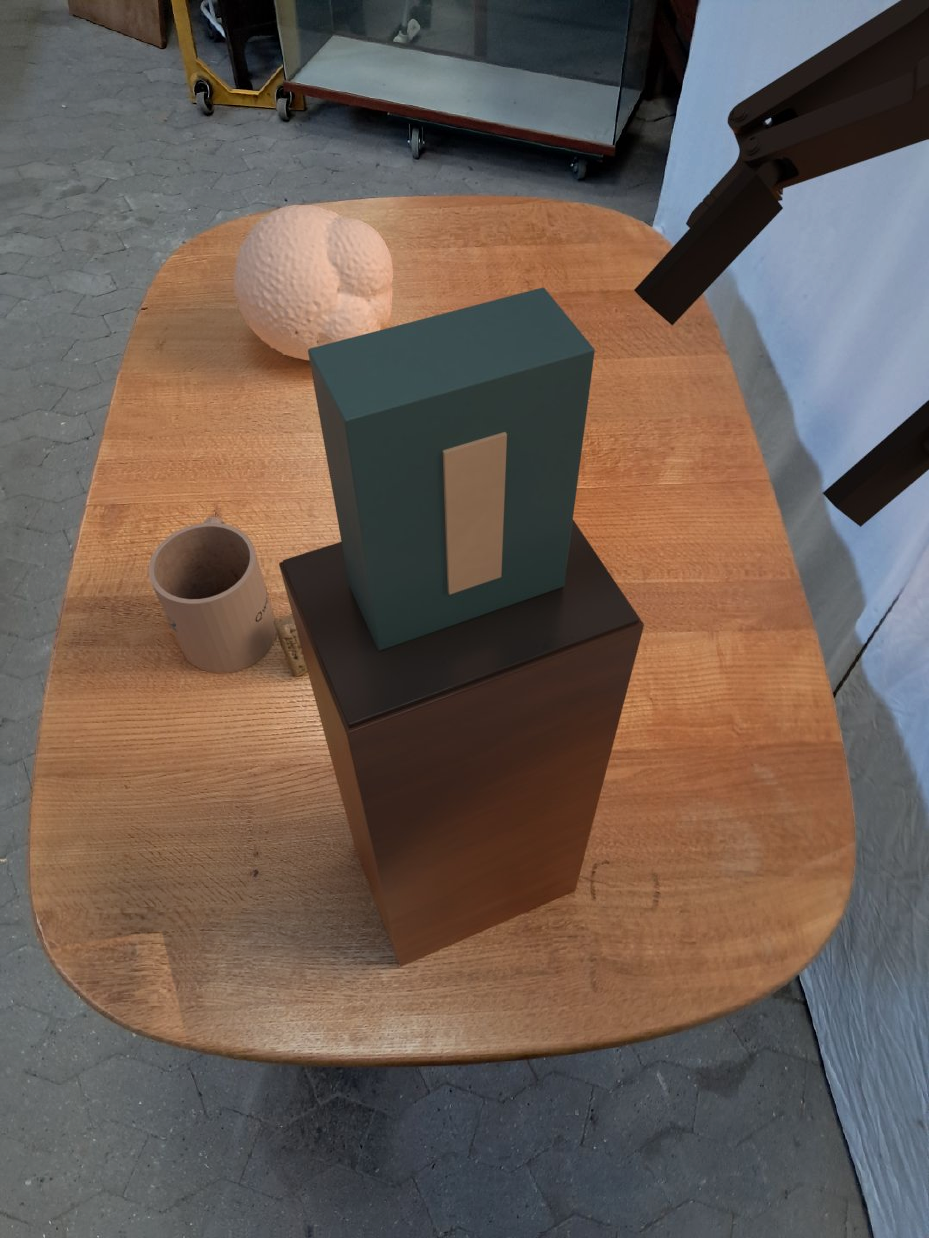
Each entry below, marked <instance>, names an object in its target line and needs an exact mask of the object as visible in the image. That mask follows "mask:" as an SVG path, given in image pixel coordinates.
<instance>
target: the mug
mask: <svg viewBox="0 0 929 1238" xmlns="http://www.w3.org/2000/svg"><path fill="white" fill-rule="evenodd" d="M148 577H149V581H150V583H151V586H152V588H153V590H154V593H155V595H156V596H157V599H158V601H159V603H160V605H161V607H162V610H163V613H164V614H165V616H166V618H167V621H168V623H169V626H170V627H171V629H172V632H173V634H174V636H175V638H176V640H177V642H178V645H179V647H180V649H181V652H182V653H183V655H184V656H185V658H186V659H187V661H188V662H189V663H190V664H191V665H192V666H194V667H196V668H197V669H199V670H202V671H205V672H207V673H213V674H229V673H236V672H239V671H242V670H245V669H247V668H249V667H251V666H253V665H255V664H257V663H258V662H259V661H260V660H261V659H263V658H264V657H265V656H266V655H267V654H268V652H269V651H270V650H271V648H272V647H273V646H274V642H275V640H276V637H277V631H276V628H275V626H274V621H275V620H276V619H277V618H276V617H275V616H276V615H275V613H274V609H273V606H272V602H271V599H270V596H269V592H268V589H267V586H266V582H265V578H264V576H263V573H262V569H261V566H260V561H259V559H258V555H257V552H256V549H255V546H254V543H253V542H252V540H251V539H250V537H249V536H248V535H247V534H246V533H245V532H244V531H242V530H241V529H239V528H237V527H236V526H233V525H231V524H226V523H225V521H224V520H223V519H222V517H220V516H216V515H215V516H209V517H207V518H206V519H205V520H204V521H203V522H202V523H195V524H192V525H188V526H185V527H183V528H181V529H178V530H176V531H174V532H173V533H172V534H170V535H168V536H167V537H165V538H164V539H163V540H162V541H161V542H160V543H159V544H158V546H157V547H156V548H155V549H154V551H153V553H152V555H151V557H150V559H149V563H148Z"/></svg>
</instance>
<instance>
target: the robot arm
mask: <svg viewBox="0 0 929 1238" xmlns="http://www.w3.org/2000/svg"><path fill="white" fill-rule="evenodd" d="M769 119H770V121H769ZM766 121H769V122H768V123H767V122H766ZM727 125H728V127H729V128H730V130H731V131H732V132H733V135H734V138H735V140H736V143H737V145H738V149H739V150H738V152H739V153H738V156H737V159H736V161H735V162H734V164H733V165H732V166H731V167H730V168H729V170H728V171H727V172H726V173H725V174H724V175H723V177H721V178H720V179H719V181H718V182H717V183H716V184H715V186H714V187H712V188H711V190H710V191H709V192H708V193H707V194H706V196H705V197H704V198H703V199H702V201H701V202H699V204H698V205H697V206H696V207H695V208H694V209H692V211H691V213H690V215H689V217H688V218H687V221H686V222H685V225H686V226H687V227H688V230H687V231H686V232H685V233H684V234H683V236H681V237H680V239H678V241H677V242H676V243H675V244H674V245H673V246H672V247H671V248H670V249H669V251H667V253H666V254H665V255H664V256H663V257H662V258H661V259H660V261H659V262H658V263H657V264H656V265H655V266H654V267H653V268H652V270H651V271H650V272H649V273H648V274H647V275H646V276H645V277H644V278H643V279H642V280H641V281H640V283H639V284H638V285H637V286H636V287H635V288H634V289H633V291H634V292H635V294H637V295H638V297H639V298H641V300H643V301H644V303H646V304H647V305H648V306H649V307H650V308H651V309H652V310H654V311H655V312H656V313H657V314H658V315H659V316H661V318H663V319H664V320H665V321H666V322H667V323H669V324H670V325H671V326H674V325H675V324H676V323H677V321H679V320H680V318H681V317H682V316H683V315H684V314H685V313H686V312H687V311H688V310H689V309H690V308H691V307H692V306H693V304H694V303H695V302H696V301H697V300H699V298H700V297H701V296H702V295H703V294H704V293H705V292H706V291H707V290H708V289H709V288H710V287H711V285H713V284H714V282H715V281H716V280H717V279H718V278H719V277H720V276H721V275H722V274H723V273H724V272H725V271H726V269H727V268H729V266H730V265H731V264H732V263H733V262H735V260H736V259H737V258H738V257H739V256H740V254H742V252H744V250H746V248H747V247H748V246H749V245H750V244H751V243H753V241H754V240H755V239H756V238H757V237H758V236H759V235H760V233H762V231H763V230H764V229H765V228H766V227H767V226H768V225H769V224H770V223H771V222H772V221H773V220H774V219H775V218H776V217H777V215H779V213H780V212H781V211H782V210H783V209H784V207H783V206H782V204H781V203H780V202H781V201H783V195H784V189H786V188H789V187H792V186H795V185H798V184H801V183H805V182H807V181H811V180H813V179H816V178H818V177H819V178H820V177H822V176H825V175H827V174H830V173H833V172H836V171H840V170H842V169H845V168H848V167H851V166H854V165H857V164H859V163H862V162H863V163H864V162H865V161H866V162H867V161H868V160H871V159H874V158H877V157H880V156H884V155H886V154H890V153H892V152H895V151H898V150H901V149H903V148H907V147H909V146H913V145H916V144H918V143H922V142H924V141H928V140H929V0H899V1H897V2H895V3H894V4H892V5H891V6H889V7H888V8H886V9H884V10H883V11H881V12H880V13H878V14H876V15H875V16H873V17H872V18H870V19H869V20H867V21H865V22H864V23H862V24H861V25H859V26H858V27H857V28H855V29H853V30H851V31H850V32H848V33H847V34H845V35H844V36H841V37H840V38H839V39H837V40H835V41H834V42H832V43H831V44H830V45H828V46H827V47H825V48H823V49H822V50H820V51H819V52H817V53H816V54H814V55H812V56H811V57H809V58H807V59H806V60H804V61H803V62H801V63H800V64H798V65H797V66H795V67H794V68H792V69H790V70H789V71H787V72H786V73H784V74H783V75H781V76H779V77H777V78H776V79H775V80H773V81H771V82H770V83H768V84H767V85H765V86H764V87H762V88H760V89H759V90H757V91H756V92H754V93H753V94H751V95H750V96H747V98H745V99H743V100H742V101H740V102H739V103H737V104H736V105H735V106H733V108H732V109H731V110H730V112H729V113H728V116H727ZM928 471H929V399H928V400H926V402H924V403H923V404H922V405H921V406H920V407H918V409H917V410H915V411H914V412H913V413H912V414H911V415H910V416H908V417H907V418H906V419H905V420H904V421H903V422H901V423H900V424H899V425H898V426H897V427H896V428H894V429H893V431H892V432H890V433H889V434H888V435H887V436H886V437H885V438H883V439H882V440H881V441H880V442H879V443H878V444H877V445H875V446H874V447H873V448H872V449H871V450H870V451H868V452H867V453H866V454H865V455H864V456H862V458H861V459H859V460H858V461H857V462H856V463H855V464H853V465H852V466H851V467H850V468H849V469H848V470H847V471H846V472H845V473H843V474H842V475H841V476H840V477H838V479H837V480H836V481H834V482H833V483H832V484H831V485H830V486H828V487H827V489H825V490H824V491H823V492H822V495H823V496H824V497H825V498H826V499H827V500H828V501H829V502H830V504H832V505H833V506H834V508H836V509H837V510H838V511H839V512H841V513H842V514H844V515H845V516H846V517H847V518H848V519H850V520H851V521H852V522H853V523H855V524H856V525H857V526H859V527H860V528H861V527H863V526H864V525H865V524H866V523H867V522H869V521H870V520H871V519H872V518H873V517H874V516H876V515H877V514H878V513H879V512H880V511H882V510H883V509H884V508H885V507H886V506H887V505H889V504H890V503H891V502H892V501H894V500H895V499H896V498H897V497H899V496H900V494H902V493H903V492H904V491H906V490H907V489H908V488H909V487H910V486H911V485H913V484H914V483H915V482H916V481H917V480H918V479H920V478H921V477H922V476H923V475H925V474H926V473H927V472H928Z"/></svg>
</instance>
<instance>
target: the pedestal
mask: <svg viewBox="0 0 929 1238" xmlns="http://www.w3.org/2000/svg"><path fill="white" fill-rule="evenodd" d="M278 566H279V569H280V573H281V577H282V581H283V584H284V588H285V593H286V596H287V599H288V604H289V607H290V611H291V614H292V615H293V619H294V622H295V626H296V630H297V633H298V637H299V641H300V645H301V648H302V652H303V656H304V660H305V663H306V667H307V671H306V672H307V674H308V678H309V682H310V685H311V686H310V687H311V689H312V692H313V697H314V701H315V704H316V708H317V712H318V715H319V720H320V723H321V727H322V730H323V734H324V737H325V741H326V745H327V748H328V749H327V750H328V753H329V756H330V760H331V764H332V768H333V771H334V775H335V778H336V782H337V787H338V790H339V793H340V797H341V801H342V805H343V809H344V812H345V815H346V819H347V823H348V827H349V831H350V835H351V838H352V842H353V847H354V848H355V850H356V854H357V856H358V860H359V861H360V864H361V867H362V869H363V872H364V875H365V877H366V881H367V883H368V886H369V888H370V891H371V894H372V897H373V899H374V902H375V904H376V907H377V910H378V913H379V915H380V918H381V920H382V924H383V926H384V929H385V931H386V935H387V937H388V940H389V942H390V945H391V947H392V951H393V953H394V956H395V959H396V961H397V964H398V967H403V966H405V965H407V964H410V963H413V962H416V961H417V960H419V959H421V958H424V957H426V956H428V955H432V954H433V953H435V952H437V951H440V950H442V949H445V948H447V947H449V946H451V945H454V944H456V943H458V942H461V941H463V940H465V939H468V938H470V937H472V936H475V935H477V934H479V933H481V932H483V931H486V930H488V929H491V928H493V927H495V926H497V925H500V924H502V923H504V922H507V921H509V920H511V919H513V918H516V917H518V916H520V915H523V914H525V913H528V912H531V911H532V910H534V909H537V908H539V907H541V906H543V905H546V904H548V903H552V902H553V901H554V900H557V899H560V898H562V897H564V896H566V895H568V894H571V893H574V892H576V889H577V886H578V882H579V879H580V878H579V877H580V874H581V870H582V867H583V862H584V859H585V854H586V852H587V847H588V844H589V840H590V837H591V832H592V828H593V824H594V820H595V816H596V813H597V809H598V805H599V800H600V797H601V794H602V791H603V790H602V789H603V786H604V782H605V777H606V774H607V770H608V767H609V762H610V758H611V754H612V751H613V747H614V743H615V739H616V735H617V732H618V728H619V724H620V720H621V716H622V712H623V708H624V704H625V700H626V696H627V693H628V688H629V685H630V681H631V678H632V674H633V671H634V666H635V662H636V658H637V653H638V651H639V647H640V642H641V638H642V634H643V631H644V628H645V623H644V622H643V621H642V619H641V618H640V616H639V614H638V613H637V611H636V610H635V609H634V607H633V606H632V604H631V603H630V601H629V599H628V598H627V597H626V596H625V594H624V592H623V591H622V589H621V588H620V587H619V585H618V583H617V582H616V581H615V579H614V578H613V576H612V575H611V573H610V572H609V570H608V568H607V567H606V566H605V565H604V563H603V561H602V560H601V558H600V556H599V555H598V554H597V552H596V551H595V549H594V548H593V546H592V545H591V544H590V542H589V541H588V539H587V537H586V536H585V535H584V533H583V532H582V530H581V529H580V527H579V526H578V524H577V523H576V521H575V520H574V519H573V522H572V529H571V537H570V545H569V552H568V560H567V568H566V575H565V583H564V587H561V588H559V589H556V590H553V591H550V592H547V593H544V594H541V595H538V596H536V597H533V598H530V599H527V600H524V601H521V602H518V603H515V604H513V605H510V606H507V607H504V608H501V609H498V610H495V611H492V612H490V613H487V614H484V615H481V616H478V617H475V618H472V619H469V620H467V621H464V622H461V623H458V624H455V625H452V626H449V627H446V628H444V629H441V630H438V631H435V632H432V633H429V634H426V635H423V636H421V637H418V638H415V639H412V640H409V641H406V642H403V643H400V644H398V645H395V646H392V647H389V648H386V649H383V650H380V651H379V650H378V649H377V646H376V644H375V642H374V640H373V638H372V635H371V633H370V631H369V629H368V626H367V624H366V622H365V620H364V617H363V615H362V613H361V611H360V609H359V606H358V604H357V602H356V600H355V597H354V595H353V593H352V591H351V589H350V586H349V582H348V576H347V570H346V565H345V559H344V553H343V548H342V542H341V541H340V542H339V541H338V542H336V543H333V544H329V545H327V546H323V547H320V548H317V549H314V550H310V551H307V552H304V553H301V554H298V555H295V556H291V557H288V558H286V559H285V558H284V559H283V560H282V561H280V562H278Z"/></svg>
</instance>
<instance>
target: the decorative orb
mask: <svg viewBox="0 0 929 1238" xmlns="http://www.w3.org/2000/svg"><path fill="white" fill-rule="evenodd" d="M233 273H234V274H233V279H232V282H233V283H232V284H233V292H234V296H235V301H236V303H237V308H238V309H239V311H240V314H241V317H242V319H243V321H244V322H245V323H246V324H247V326H248V327H249V328H250V329H251V330H252V332H253V333H254V334H255V335H257V337H258V338H259V339H260V341H262V342H264V343H265V344H266V345H268V346H269V347H270V349H274V350H275V351H277V352H278V353H281V354H282V356H285V355H286V356H288V357H293V358H295V359H300V360H304V361H308V362H310V360H309V354H308V349H310V348H314V347H318V346H322V345H326V344H329V343H333V342H337V341H341V340H345V339H348V338H352V337H356V336H360V335H364V334H367V333H371V332H375V331H379V330H381V328H382V327H384V326H386V324H387V323H388V322H389V320H390V318H391V315H392V303H393V294H394V291H393V288H392V282H393V279H394V278H393V277H394V267H393V259H392V255H391V251H390V249H389V248H388V247H387V243H386V242H385V241H384V239H383V238H382V235H381V234H380V233H379V232H378V230H376V229H374V227H372V226H371V225H369V224H368V223H366V222H364V221H362V220H360V219H357V218H350V217H345V216H340V215H339V214H337V213H336V212H334V211H331V210H330V209H326V208H324V207H322V206H317V205H310V204H292V205H286V206H285V205H284V206H282V207H280V208H277V209H275V210H272V211H271V212H270V213H267V214H266V215H264V216H263V217H262V218H261V219H259V220H258V222H257V223H255V224H253V227H252V229H250V230H249V232H248V233H247V236H246V237H245V239H244V240H243V243H242V244H240V248H239V250H238V253H237V256H236V260H235V267H234V270H233Z"/></svg>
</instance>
